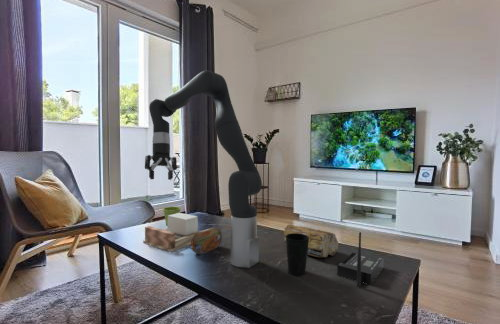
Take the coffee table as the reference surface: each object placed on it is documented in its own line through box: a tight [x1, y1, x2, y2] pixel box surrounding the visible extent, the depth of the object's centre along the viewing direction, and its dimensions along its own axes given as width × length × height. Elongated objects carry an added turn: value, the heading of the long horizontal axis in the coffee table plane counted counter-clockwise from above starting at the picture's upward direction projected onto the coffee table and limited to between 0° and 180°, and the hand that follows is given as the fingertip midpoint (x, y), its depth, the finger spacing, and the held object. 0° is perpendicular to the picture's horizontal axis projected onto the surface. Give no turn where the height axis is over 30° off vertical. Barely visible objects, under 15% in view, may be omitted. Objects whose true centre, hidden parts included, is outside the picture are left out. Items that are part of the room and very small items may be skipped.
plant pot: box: [162, 206, 181, 226], centre depth 149 cm, size 9×9×9 cm
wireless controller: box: [336, 231, 385, 288], centre depth 93 cm, size 20×14×17 cm
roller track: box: [142, 225, 204, 253], centre depth 124 cm, size 18×21×7 cm
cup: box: [285, 233, 309, 277], centre depth 93 cm, size 8×8×12 cm
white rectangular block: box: [167, 212, 199, 236], centre depth 127 cm, size 12×7×7 cm, turn 56°
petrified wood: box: [283, 224, 339, 258], centre depth 113 cm, size 19×13×10 cm
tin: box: [190, 227, 223, 255], centre depth 112 cm, size 15×3×8 cm, turn 143°
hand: (161, 179), depth 124 cm, fingers open, 8 cm apart
